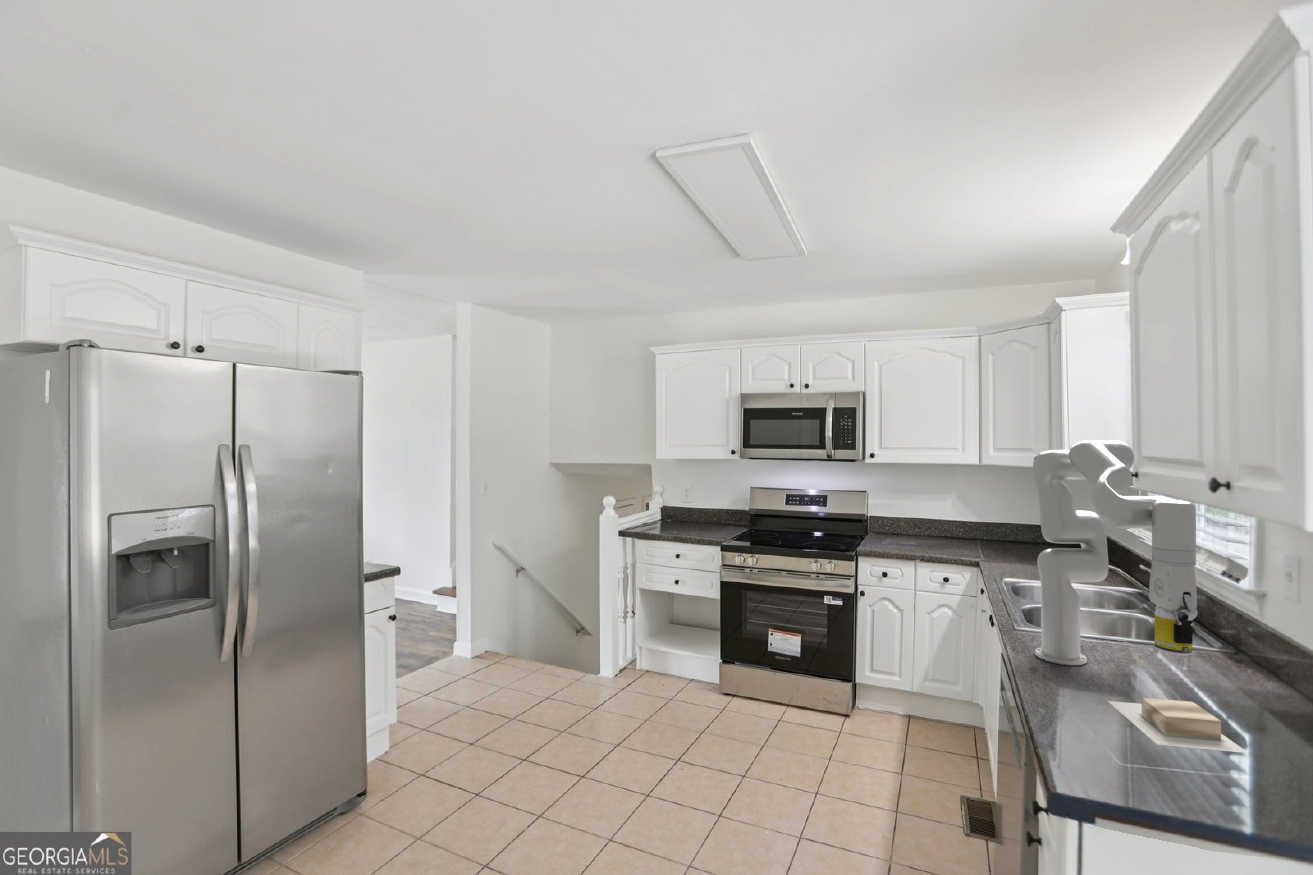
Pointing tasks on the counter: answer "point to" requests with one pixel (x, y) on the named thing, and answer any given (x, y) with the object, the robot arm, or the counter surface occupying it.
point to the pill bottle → (1168, 633)
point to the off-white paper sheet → (1135, 716)
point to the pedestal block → (1181, 718)
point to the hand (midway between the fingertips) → (1173, 637)
